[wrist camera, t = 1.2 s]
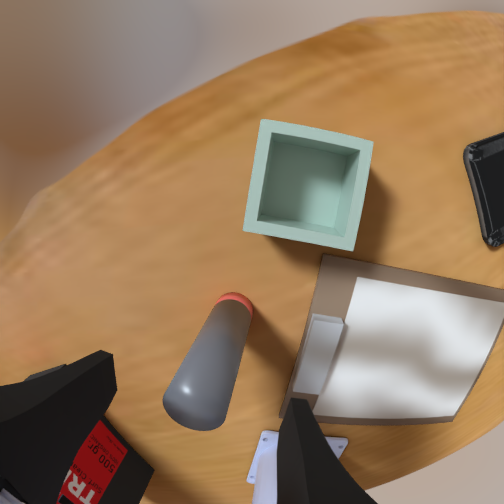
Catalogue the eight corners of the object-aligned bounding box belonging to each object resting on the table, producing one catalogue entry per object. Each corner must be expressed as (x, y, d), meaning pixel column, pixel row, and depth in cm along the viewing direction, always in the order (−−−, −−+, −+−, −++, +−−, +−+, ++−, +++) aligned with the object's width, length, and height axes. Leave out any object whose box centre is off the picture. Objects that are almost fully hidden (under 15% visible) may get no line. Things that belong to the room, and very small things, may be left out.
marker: (249, 330, 20) (222, 436, 10) (213, 322, 20) (163, 421, 11) (255, 296, 20) (229, 394, 10) (217, 288, 20) (162, 377, 10)
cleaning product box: (154, 469, 26) (96, 595, 7) (108, 468, 28) (50, 567, 9) (65, 363, 24) (-57, 483, 4) (30, 375, 25) (-68, 465, 6)
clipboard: (450, 419, 21) (455, 427, 19) (278, 414, 22) (278, 426, 20) (512, 291, 17) (521, 296, 16) (323, 253, 18) (326, 258, 17)
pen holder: (339, 237, 18) (353, 251, 14) (251, 220, 18) (242, 230, 15) (355, 150, 17) (373, 141, 13) (266, 132, 17) (261, 118, 13)
